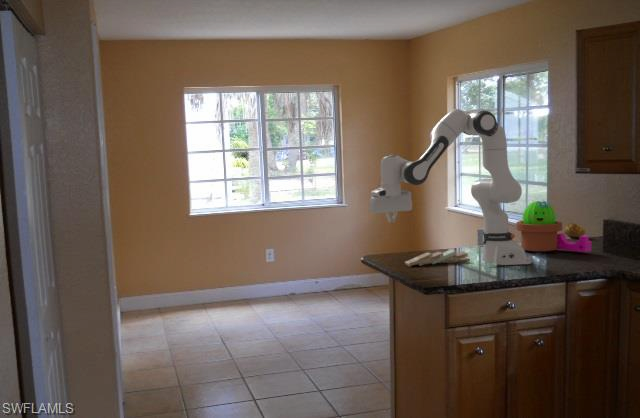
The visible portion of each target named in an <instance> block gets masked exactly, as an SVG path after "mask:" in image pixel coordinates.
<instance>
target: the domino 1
mask: <svg viewBox="0 0 640 418" xmlns="http://www.w3.org/2000/svg"><path fill="white" fill-rule="evenodd" d="M443 253H444V252H441V251H436V252H434V253H431V254H432V256H433V257H432V258H429V259H427V260H425V261H422V262H420V263H418V264H416V265H417V266H419V267H422V266H424V265H426V264H429V263H430V262H431V261H434V260H436V259H438V258H441V257H443Z"/></svg>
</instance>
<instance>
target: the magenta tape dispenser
mask: <svg viewBox="0 0 640 418" xmlns="http://www.w3.org/2000/svg"><path fill="white" fill-rule="evenodd" d="M565 235H566V234H565V233H557V249H556V250H564V251H573V252H580V253H581V252H582V253H586V252H591V251H592V240H590V239H589V238H590V235H583V236H580V237H578V238H579V239H578V240H577V242H574V241H569V240H568V239H567V237H566V236H565Z"/></svg>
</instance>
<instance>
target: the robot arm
mask: <svg viewBox="0 0 640 418" xmlns="http://www.w3.org/2000/svg"><path fill="white" fill-rule="evenodd" d="M462 133H463V134H465V135H467V136H478V137H480V139H481V142H482V144H481V145H482V147H481V150H482V151H481V152H482V166H483V168H484V169H485V170H486V171H487V172H488V173H489V174H490V175H491V178H482V179H481V178H480V179H478V180H475V181H474V182H473V183H472V185H471V189H470V192H471V193H470V194H471V196H472V198H473V199H474V200H475V201H476V202H477V203H478V205H479V207H480V209H481V212H482V216H483V229H484V232H483V244H484V245H483V250H482V256H481V261H482V262H486V263H494V264H497V265H501V266H512V265H513V266H514V265H515V266H516V265H517V266H518V265H529V264H532V260H531V259H530V258H529V257H527V254H526V250H524V248H523V247H521V244H519V243H518V242H516V241H515V240H513V239H515V237H516V235H515V234H514V233H513V232H510V231H509V215H508V213H507V212H505V211H504V210H503V209H502V207H501V205H500V204H509V203H510V204H511V203H515V202H517V201H519V200H520V199H521V196H522V193H523V189H522V185H521V184H520V183H519V182H518V181H517V180H516V179H515V178H514V176H513V174H512V172H511V170H510V168H509V163H508V143H507V142H508V141H507V137H506V136H507V135H506V132H505V128H504V127H503V126H501V125H500V124H498V122H497V119H496V116H495V115H494V114H493V113H492V112H491V111H489V110H474V111H469V112H466V113H465V111H463V110H462V109H460V108H454V109H451V110H450V111H449V112H448V113H446V114H445V115H444V116H443V117H442V118H441V119H439V121H438V122H437V123H436V124H435V125H434V127H433V128H432V129H431V131H430V133H429V140H430V144H429V147H428V148H427V149H426V151H425V152H424V153H423V154H422V155H421V156H420V158H419V159H417V160H415V161H409V160H407V159H406V158H402V157H401V156H400V155H398V154H396V153H395V154H389V155H385V156H383V157H382V158H381V162H380V178H381V182H380V187H378V188H376V189H374V190H371V192H370V196H371V197H370V198H369V212H370V213H371V214H383V213H384V214H385V216H386V218H387V222H388V223H395V222H396V218H397V216H398V212H408V211H412V209H413V200H412V192H411V191H410V190H409V189H406V190H403V189H402V187H401V186H402V185H401V183H402V182H404V183H407V184H411V185H414V186H419V185H422V184H424V183H425V182H426V180H428V179H427V178H428V177H429V175H430V171H431V169H432V168H433V167H434V165H435V164H436V163H437V161H438V160H439V159H440V158H441V156H442V155H443V154H444V153H445V152H446V150H447V149H449V147H450V146H451V145H452V144H453V143H454V142H455V141H456V140H457V138H458V137H459V136H460V135H461V134H462ZM391 213H392V214H393V215H392V217H391Z"/></svg>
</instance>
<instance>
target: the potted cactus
mask: <svg viewBox="0 0 640 418" xmlns="http://www.w3.org/2000/svg"><path fill="white" fill-rule="evenodd" d="M522 213H523V214H522V220H519V221H516V230H517V231H519V232H520V233H521V235H520V237H521V238H520V239H521V241H520V242H521V243H520V246H521V247H523V248H524V250H525V251H530V252H553V251H555V250H558V249H557V234H558V232H561V231H563V221H559V220H557V218H556V217H557V216H556V212H555V210H554V208H553V207H552V205H549V202H547V201H545V200H542V201H540V200H537V201H532V202H531V203H529V204H527V207H526V208H524V212H523V211H522Z"/></svg>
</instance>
